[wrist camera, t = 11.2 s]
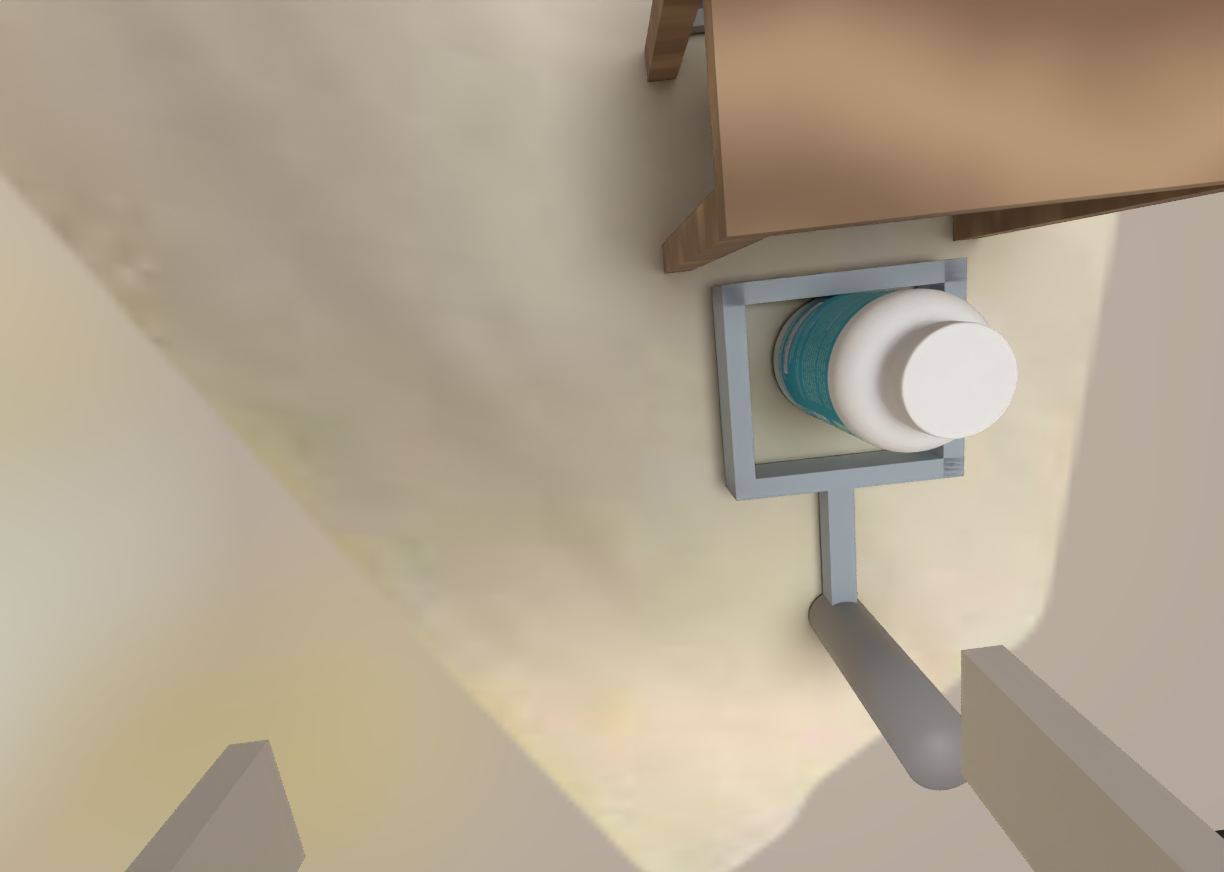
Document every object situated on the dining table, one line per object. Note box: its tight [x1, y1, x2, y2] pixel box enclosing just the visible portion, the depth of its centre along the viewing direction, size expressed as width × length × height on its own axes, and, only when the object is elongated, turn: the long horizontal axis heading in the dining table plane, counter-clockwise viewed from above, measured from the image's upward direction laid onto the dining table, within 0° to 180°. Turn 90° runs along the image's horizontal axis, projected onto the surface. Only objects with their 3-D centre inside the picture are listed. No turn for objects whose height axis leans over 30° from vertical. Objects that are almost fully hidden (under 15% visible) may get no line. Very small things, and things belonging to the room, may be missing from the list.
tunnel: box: [645, 0, 1224, 273], centre depth 25 cm, size 12×19×18 cm, turn 96°
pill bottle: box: [774, 289, 1017, 453], centre depth 30 cm, size 8×7×14 cm
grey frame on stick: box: [712, 257, 967, 790], centre depth 32 cm, size 24×13×13 cm, turn 6°
